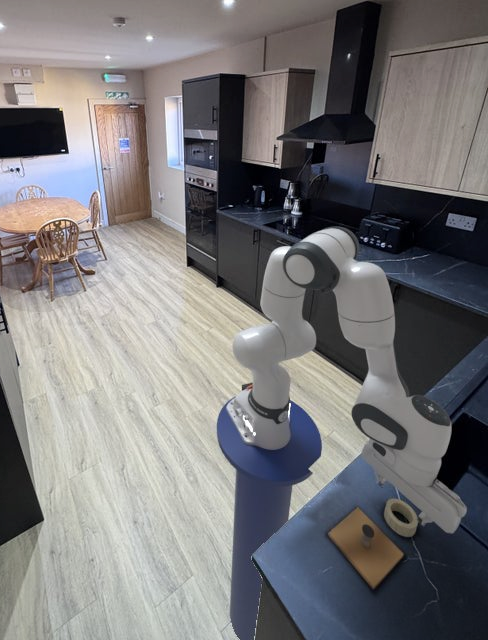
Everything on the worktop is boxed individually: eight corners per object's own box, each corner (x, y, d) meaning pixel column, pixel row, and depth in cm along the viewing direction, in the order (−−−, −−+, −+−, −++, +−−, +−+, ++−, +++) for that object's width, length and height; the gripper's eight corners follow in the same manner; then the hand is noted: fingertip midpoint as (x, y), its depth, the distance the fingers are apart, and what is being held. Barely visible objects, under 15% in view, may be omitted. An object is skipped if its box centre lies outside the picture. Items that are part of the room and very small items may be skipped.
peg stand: (327, 535, 75) (330, 520, 74) (357, 509, 80) (360, 494, 79) (373, 590, 66) (377, 574, 65) (403, 556, 71) (407, 541, 70)
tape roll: (378, 515, 79) (380, 507, 78) (393, 501, 82) (395, 493, 81) (406, 543, 74) (408, 534, 73) (420, 526, 77) (423, 518, 76)
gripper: (476, 496, 66) (457, 538, 71) (377, 422, 83) (367, 460, 87) (462, 514, 63) (443, 557, 68) (362, 433, 79) (353, 472, 84)
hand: (400, 502), depth 77 cm, fingers open, 8 cm apart
